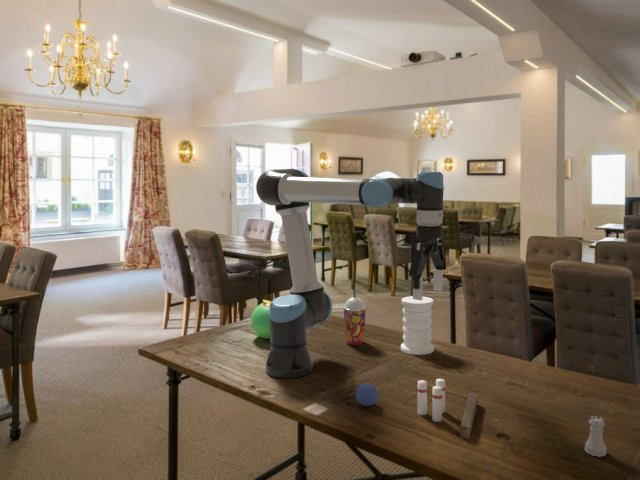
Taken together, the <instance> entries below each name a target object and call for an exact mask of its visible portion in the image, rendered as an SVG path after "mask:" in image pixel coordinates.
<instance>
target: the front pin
mask: <svg viewBox="0 0 640 480" xmlns="http://www.w3.org/2000/svg"><path fill="white" fill-rule="evenodd" d="M416 389H417V415H420V416H426V415H427V414H428V381H426V380H424V379H420V380H418V381H417V388H416Z"/></svg>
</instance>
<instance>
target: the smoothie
mask: <svg viewBox="0 0 640 480" xmlns="http://www.w3.org/2000/svg"><path fill="white" fill-rule="evenodd" d="M342 308H343V320H344V321H343V322H344V332H345V340H346V343H347V344H348V345H351V346H360V345H362V344H363V343H364V341H365V337H366V332H365V331H366V316H367V315H366V314H367V310H366V309H367V306H366V304H365V302H364V301H363V300H362V299H361V298H360V297H357V296H356V289H353V296H351V297H349V298H348V299H346V301H345V302H344V305H343V307H342Z"/></svg>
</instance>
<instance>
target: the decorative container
mask: <svg viewBox="0 0 640 480" xmlns="http://www.w3.org/2000/svg"><path fill="white" fill-rule="evenodd" d="M401 305H403V308H402V314H403V317H402V322H403V326H402V331H403V335H402V340H403V342H402V343H401V344H400V351H402V353H405V354H408V355H415V356H423V355H425V356H426V355H429V354H432V353H434V350H435V346H434V345H433V343H432V340H433V337H432V330H433V328H432V323H433V319H432V314H433V309H432V306H433V305H434V299H433V298H431V297H428V296H423V295H422V300H415V299H413V295H411V296H404V297H402V298H401Z"/></svg>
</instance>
